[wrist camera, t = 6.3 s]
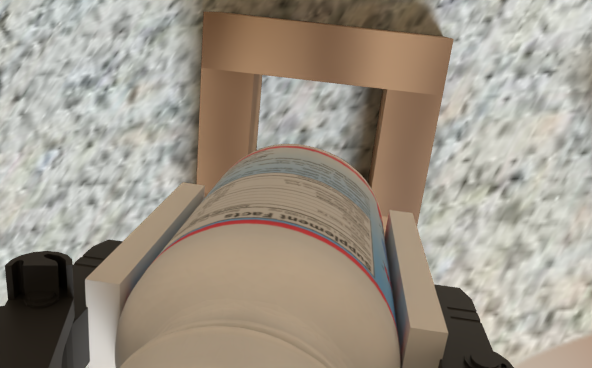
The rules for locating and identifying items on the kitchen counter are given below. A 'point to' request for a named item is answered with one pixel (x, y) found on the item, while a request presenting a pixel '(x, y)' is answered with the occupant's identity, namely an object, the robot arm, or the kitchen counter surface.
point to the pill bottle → (269, 274)
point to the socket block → (325, 68)
